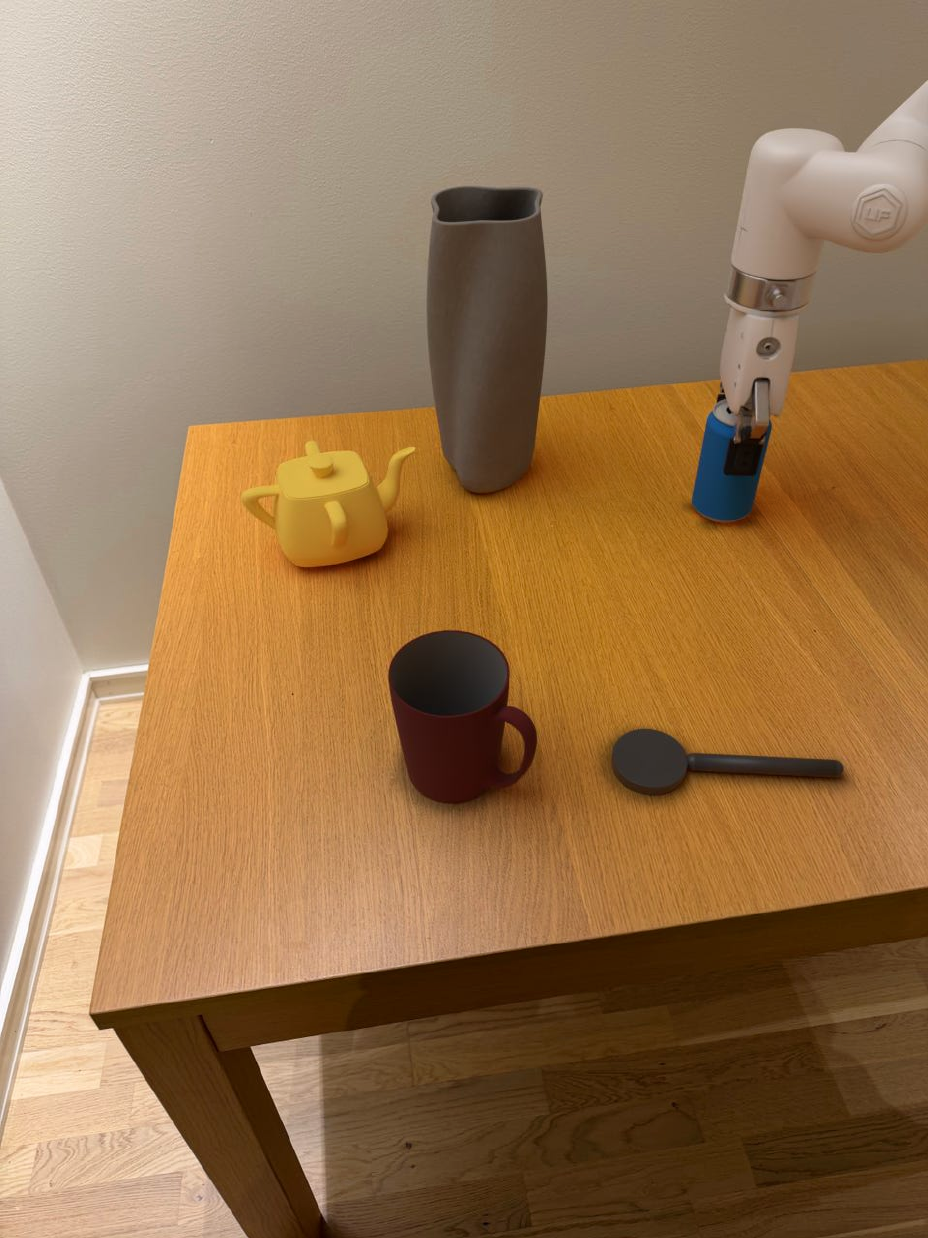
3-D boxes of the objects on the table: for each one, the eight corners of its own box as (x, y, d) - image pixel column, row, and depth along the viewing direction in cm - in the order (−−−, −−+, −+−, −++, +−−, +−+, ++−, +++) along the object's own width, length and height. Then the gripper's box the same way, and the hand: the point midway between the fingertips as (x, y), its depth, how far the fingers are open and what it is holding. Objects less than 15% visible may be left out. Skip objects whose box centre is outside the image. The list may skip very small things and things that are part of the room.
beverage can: (736, 489, 100) (758, 392, 92) (760, 523, 96) (785, 424, 87) (682, 496, 100) (699, 399, 91) (703, 530, 95) (723, 431, 87)
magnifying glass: (832, 745, 73) (836, 734, 72) (850, 805, 69) (855, 794, 68) (609, 734, 74) (611, 723, 73) (612, 793, 70) (614, 782, 69)
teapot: (327, 491, 102) (314, 411, 95) (422, 523, 97) (416, 441, 90) (248, 557, 93) (228, 474, 86) (348, 596, 88) (335, 511, 81)
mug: (561, 776, 71) (569, 681, 64) (495, 852, 66) (497, 759, 59) (444, 709, 77) (439, 614, 69) (375, 775, 72) (362, 680, 64)
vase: (545, 448, 107) (559, 184, 87) (533, 507, 99) (545, 227, 78) (446, 441, 109) (436, 179, 89) (425, 497, 100) (409, 221, 80)
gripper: (832, 326, 74) (785, 500, 86) (792, 249, 87) (755, 409, 99) (741, 325, 75) (706, 497, 86) (714, 248, 87) (687, 408, 99)
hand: (732, 450), depth 93 cm, fingers open, 8 cm apart
